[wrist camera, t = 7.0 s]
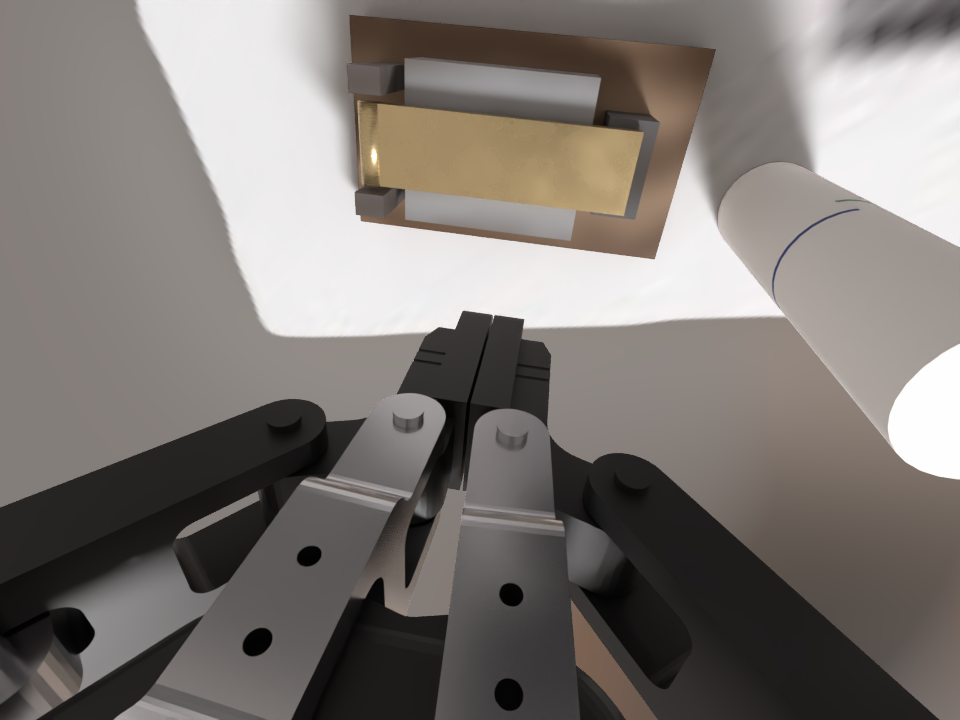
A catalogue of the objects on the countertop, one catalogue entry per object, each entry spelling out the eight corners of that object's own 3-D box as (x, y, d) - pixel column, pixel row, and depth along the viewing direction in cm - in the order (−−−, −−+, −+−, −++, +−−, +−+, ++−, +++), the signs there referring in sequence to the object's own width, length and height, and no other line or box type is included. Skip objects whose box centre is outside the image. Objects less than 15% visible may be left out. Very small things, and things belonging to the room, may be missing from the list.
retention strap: (362, 99, 31) (353, 101, 30) (641, 129, 30) (644, 133, 29) (366, 179, 34) (358, 184, 33) (621, 210, 33) (624, 217, 31)
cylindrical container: (710, 183, 38) (886, 351, 17) (815, 146, 35) (1171, 288, 14) (725, 265, 41) (888, 492, 20) (822, 237, 38) (1122, 460, 18)
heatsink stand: (365, 17, 35) (310, 8, 28) (705, 49, 33) (744, 49, 26) (372, 210, 43) (331, 245, 35) (649, 246, 41) (667, 290, 33)
